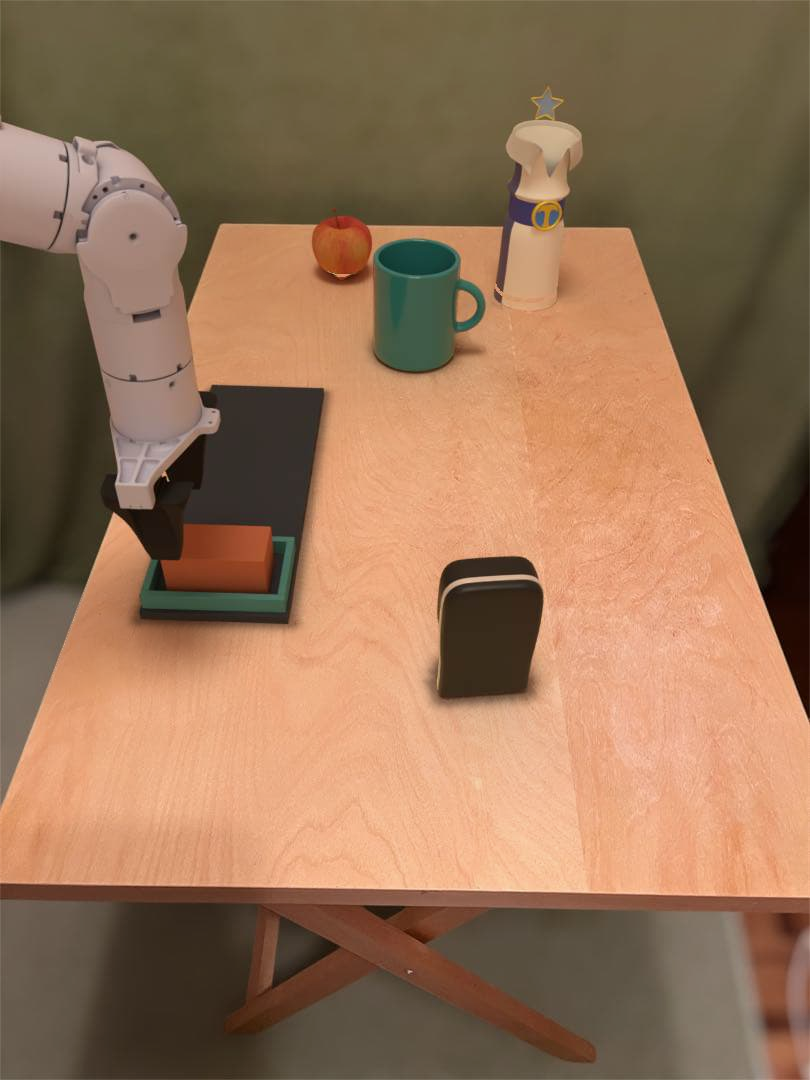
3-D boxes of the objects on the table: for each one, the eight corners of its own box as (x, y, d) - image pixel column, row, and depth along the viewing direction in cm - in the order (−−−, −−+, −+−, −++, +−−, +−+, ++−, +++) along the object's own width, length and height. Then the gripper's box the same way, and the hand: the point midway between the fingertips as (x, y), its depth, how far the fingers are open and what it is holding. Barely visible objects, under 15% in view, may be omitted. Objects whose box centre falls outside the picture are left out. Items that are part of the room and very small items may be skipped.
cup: (480, 378, 98) (489, 281, 90) (369, 372, 98) (368, 274, 91) (481, 335, 104) (490, 241, 97) (377, 329, 105) (377, 235, 97)
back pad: (288, 623, 71) (286, 603, 70) (140, 619, 71) (135, 599, 70) (324, 394, 95) (323, 375, 93) (212, 390, 95) (209, 371, 93)
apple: (337, 294, 111) (335, 231, 105) (301, 272, 115) (298, 210, 109) (384, 276, 114) (384, 214, 109) (347, 256, 118) (346, 195, 113)
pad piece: (268, 597, 72) (264, 561, 70) (167, 594, 72) (159, 557, 70) (274, 562, 75) (271, 526, 73) (178, 559, 75) (170, 523, 73)
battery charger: (520, 653, 70) (538, 544, 62) (530, 693, 67) (550, 584, 59) (429, 659, 69) (436, 550, 61) (436, 700, 66) (444, 591, 59)
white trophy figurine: (572, 309, 109) (609, 85, 92) (504, 315, 108) (528, 89, 91) (549, 277, 115) (579, 61, 98) (484, 283, 114) (503, 65, 97)
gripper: (187, 427, 52) (215, 593, 61) (228, 302, 62) (247, 460, 72) (63, 423, 52) (109, 590, 61) (125, 299, 62) (157, 457, 71)
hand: (177, 520), depth 66 cm, fingers open, 7 cm apart
